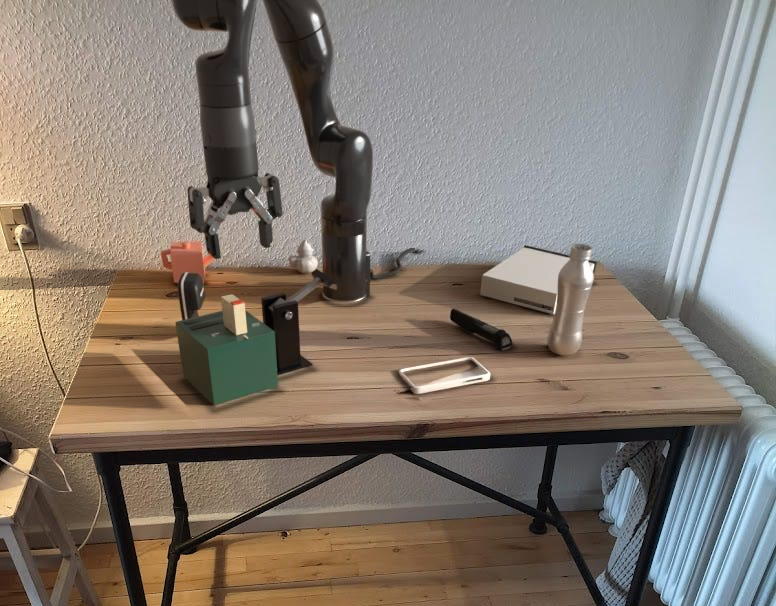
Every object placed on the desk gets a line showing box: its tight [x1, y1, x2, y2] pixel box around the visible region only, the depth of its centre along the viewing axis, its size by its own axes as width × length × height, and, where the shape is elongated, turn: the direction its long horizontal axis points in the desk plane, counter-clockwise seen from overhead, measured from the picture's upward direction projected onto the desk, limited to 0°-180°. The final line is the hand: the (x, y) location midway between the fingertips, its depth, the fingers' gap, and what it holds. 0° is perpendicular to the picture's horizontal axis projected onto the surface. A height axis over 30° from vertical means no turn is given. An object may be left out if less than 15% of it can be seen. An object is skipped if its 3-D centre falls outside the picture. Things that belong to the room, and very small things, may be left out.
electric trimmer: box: [449, 308, 513, 351], centre depth 151 cm, size 4×16×3 cm, turn 39°
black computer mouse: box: [177, 272, 206, 320], centre depth 145 cm, size 7×4×11 cm, turn 2°
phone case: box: [398, 356, 491, 395], centre depth 137 cm, size 7×1×15 cm
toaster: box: [175, 309, 279, 406], centre depth 129 cm, size 12×12×11 cm
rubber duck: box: [288, 237, 319, 274], centre depth 173 cm, size 5×7×8 cm
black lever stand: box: [260, 292, 313, 377], centre depth 135 cm, size 8×7×13 cm
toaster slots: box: [183, 312, 224, 330], centre depth 128 cm, size 9×4×1 cm, turn 126°
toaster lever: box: [268, 268, 334, 316], centre depth 133 cm, size 12×5×2 cm, turn 126°
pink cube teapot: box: [160, 240, 216, 285], centre depth 167 cm, size 8×12×8 cm, turn 102°
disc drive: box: [479, 244, 598, 315], centre depth 170 cm, size 18×22×5 cm
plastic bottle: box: [546, 243, 595, 356], centre depth 141 cm, size 6×7×20 cm
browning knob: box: [220, 294, 247, 335], centre depth 124 cm, size 4×2×5 cm, turn 36°
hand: (240, 251), depth 119 cm, fingers open, 8 cm apart
